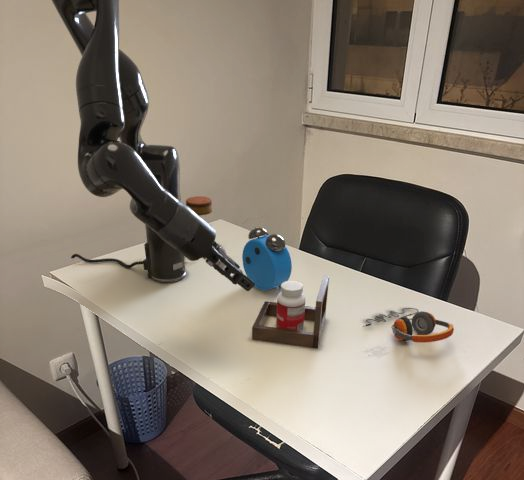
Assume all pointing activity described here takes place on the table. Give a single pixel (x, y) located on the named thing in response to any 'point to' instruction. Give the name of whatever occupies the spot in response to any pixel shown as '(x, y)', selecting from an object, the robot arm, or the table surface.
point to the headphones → (417, 327)
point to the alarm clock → (266, 259)
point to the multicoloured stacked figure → (200, 205)
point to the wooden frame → (289, 335)
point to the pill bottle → (291, 306)
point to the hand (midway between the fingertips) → (243, 278)
